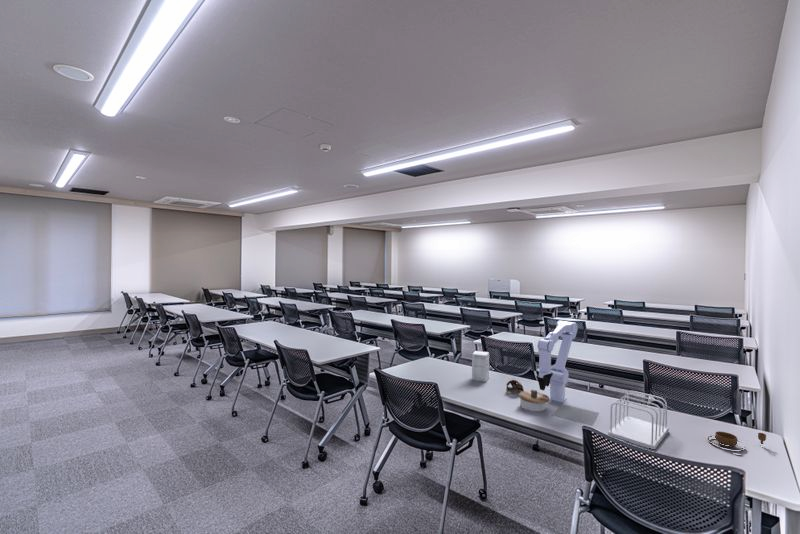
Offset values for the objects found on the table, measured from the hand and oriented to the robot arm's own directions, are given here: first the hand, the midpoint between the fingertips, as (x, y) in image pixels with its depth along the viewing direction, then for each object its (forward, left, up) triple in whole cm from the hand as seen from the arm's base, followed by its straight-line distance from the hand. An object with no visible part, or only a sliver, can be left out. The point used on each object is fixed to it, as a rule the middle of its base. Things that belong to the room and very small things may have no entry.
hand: (544, 387), depth 196 cm
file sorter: (+6, +43, -10) cm, 44 cm away
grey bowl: (+6, -4, -9) cm, 12 cm away
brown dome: (-10, -19, -10) cm, 23 cm away
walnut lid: (+6, -4, -4) cm, 8 cm away
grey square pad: (+2, +16, -9) cm, 19 cm away
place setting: (-6, +77, -10) cm, 78 cm away
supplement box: (-19, -45, -10) cm, 50 cm away
